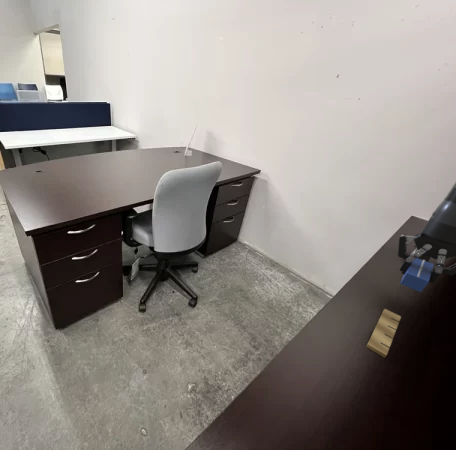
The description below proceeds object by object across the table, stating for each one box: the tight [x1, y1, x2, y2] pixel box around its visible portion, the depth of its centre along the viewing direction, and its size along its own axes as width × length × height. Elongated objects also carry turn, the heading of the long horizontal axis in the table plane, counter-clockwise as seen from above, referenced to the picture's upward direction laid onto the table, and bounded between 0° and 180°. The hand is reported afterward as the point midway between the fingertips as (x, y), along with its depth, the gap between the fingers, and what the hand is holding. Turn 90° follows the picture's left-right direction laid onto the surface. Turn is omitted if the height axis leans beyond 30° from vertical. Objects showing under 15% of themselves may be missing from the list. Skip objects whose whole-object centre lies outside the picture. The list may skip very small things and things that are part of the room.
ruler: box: [365, 308, 402, 359], centre depth 61 cm, size 18×4×1 cm, turn 129°
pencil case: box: [399, 258, 434, 293], centre depth 64 cm, size 12×4×4 cm, turn 129°
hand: (414, 277), depth 64 cm, fingers closed on pencil case, 4 cm apart
